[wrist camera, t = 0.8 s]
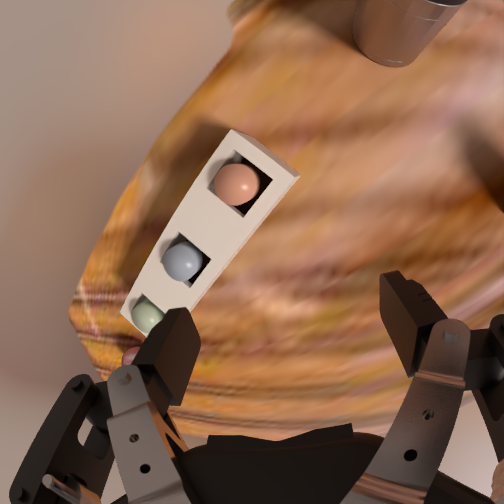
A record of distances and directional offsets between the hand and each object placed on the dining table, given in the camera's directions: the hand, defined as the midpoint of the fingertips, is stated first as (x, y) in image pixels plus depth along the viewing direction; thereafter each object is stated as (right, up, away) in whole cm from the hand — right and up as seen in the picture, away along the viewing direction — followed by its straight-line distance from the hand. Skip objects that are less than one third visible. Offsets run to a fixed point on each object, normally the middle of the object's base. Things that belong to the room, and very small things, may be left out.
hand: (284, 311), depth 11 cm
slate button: (-9, +2, +21) cm, 23 cm away
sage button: (-15, -6, +26) cm, 30 cm away
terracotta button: (-2, +9, +17) cm, 20 cm away
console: (-7, +4, +28) cm, 29 cm away
